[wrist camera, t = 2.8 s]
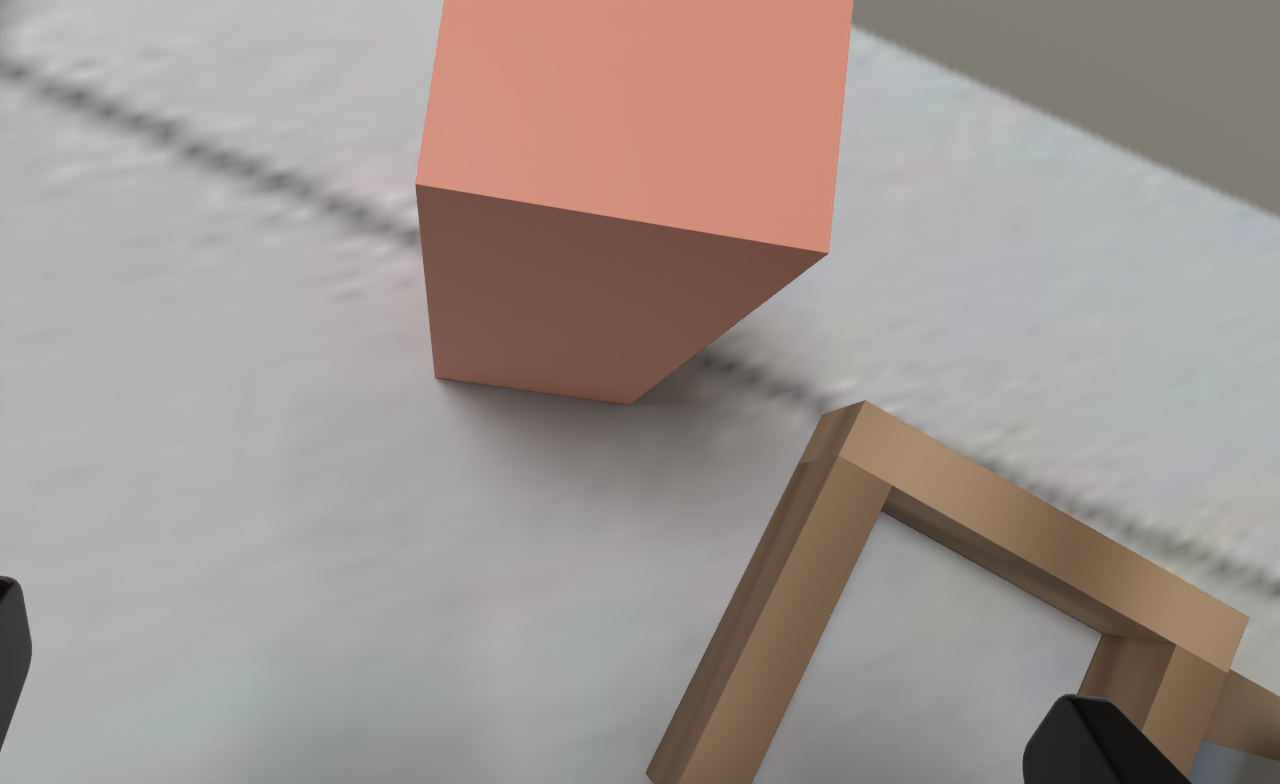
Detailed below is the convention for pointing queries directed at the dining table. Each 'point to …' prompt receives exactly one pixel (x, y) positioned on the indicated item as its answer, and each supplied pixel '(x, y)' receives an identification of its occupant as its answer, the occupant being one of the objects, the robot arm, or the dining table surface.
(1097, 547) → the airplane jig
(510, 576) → the dining table surface
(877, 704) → the dining table surface
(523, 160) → the salmon pink box
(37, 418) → the dining table surface
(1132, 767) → the robot arm
